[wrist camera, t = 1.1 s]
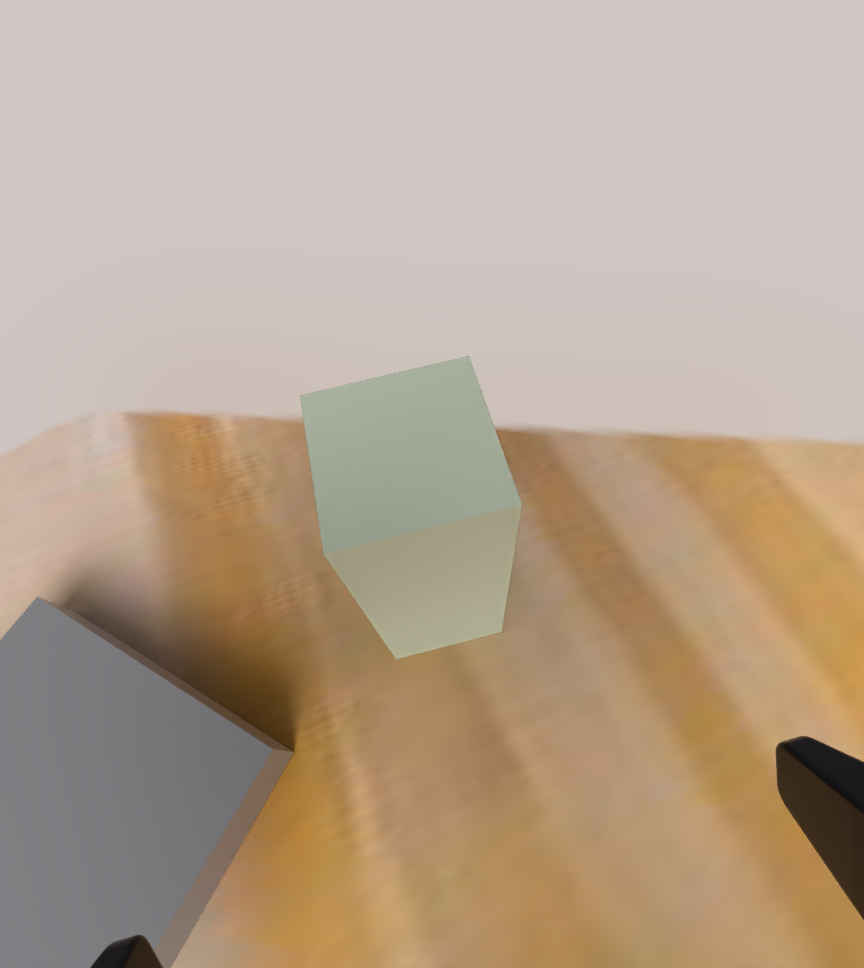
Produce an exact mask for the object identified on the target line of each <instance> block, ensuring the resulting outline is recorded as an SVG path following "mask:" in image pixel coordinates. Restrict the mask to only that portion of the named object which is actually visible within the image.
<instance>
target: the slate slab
mask: <svg viewBox="0 0 864 968" xmlns="http://www.w3.org/2000/svg"><path fill="white" fill-rule="evenodd" d="M293 754H294V752H293V751H292V750H290V749H288V748H287V747H285V746H284V745H282V744H281V743H279V742H278V741H276V740H274V739H273V738H271V737H270V736H268V735H267V734H265V733H264V732H262V731H260V730H259V729H257V728H256V727H254V726H253V725H251V724H250V723H248V722H246V721H245V720H243V719H242V718H240V717H239V716H237V715H236V714H234V713H232V712H231V711H229V710H228V709H226V708H225V707H223V706H222V705H220V704H218V703H217V702H215V701H214V700H212V699H211V698H209V697H208V696H206V695H204V694H203V693H201V692H200V691H198V690H197V689H195V688H193V687H192V686H190V685H189V684H187V683H186V682H184V681H183V680H181V679H179V678H178V677H176V676H175V675H173V674H172V673H170V672H169V671H167V670H165V669H164V668H162V667H161V666H159V665H158V664H156V663H155V662H153V661H151V660H150V659H148V658H147V657H145V656H144V655H142V654H141V653H139V652H137V651H136V650H134V649H133V648H131V647H130V646H128V645H127V644H125V643H123V642H122V641H120V640H119V639H117V638H116V637H114V636H113V635H111V634H109V633H108V632H106V631H105V630H103V629H102V628H100V627H99V626H97V625H95V624H94V623H92V622H91V621H89V620H88V619H86V618H84V617H83V616H81V615H80V614H78V613H76V612H74V611H71V610H69V609H67V608H64V607H62V606H59V605H57V604H55V603H52V602H50V601H47V600H45V599H42V598H40V597H37V598H36V599H35V600H34V602H33V603H32V604H31V605H30V606H29V607H28V609H27V610H26V611H25V612H24V613H23V614H22V616H21V617H20V618H19V619H18V620H17V621H16V622H15V624H14V625H13V626H12V627H11V628H10V629H9V631H8V632H7V633H6V634H5V635H4V636H3V638H2V639H1V640H0V968H90V967H91V966H92V964H93V963H94V962H95V961H96V959H97V958H98V957H99V955H100V954H101V953H102V952H103V950H104V949H105V948H106V947H107V946H109V945H110V944H111V943H113V942H115V941H118V940H122V939H125V938H128V937H132V936H135V935H142V936H144V937H146V938H147V940H148V941H149V943H150V945H151V947H152V948H153V950H154V952H155V954H156V956H157V957H158V959H159V961H160V963H161V964H162V966H163V968H170V967H171V966H172V964H173V962H174V961H175V959H176V957H177V955H178V954H179V952H180V950H181V948H182V947H183V945H184V943H185V941H186V940H187V938H188V936H189V934H190V933H191V931H192V929H193V927H194V926H195V924H196V922H197V920H198V919H199V917H200V915H201V914H202V912H203V910H204V908H205V907H206V905H207V903H208V901H209V900H210V898H211V896H212V894H213V893H214V891H215V889H216V887H217V886H218V884H219V882H220V880H221V879H222V877H223V875H224V874H225V872H226V870H227V868H228V867H229V865H230V863H231V861H232V860H233V858H234V856H235V854H236V853H237V851H238V849H239V847H240V846H241V844H242V842H243V840H244V839H245V837H246V835H247V834H248V832H249V830H250V828H251V827H252V825H253V823H254V821H255V820H256V818H257V816H258V814H259V813H260V811H261V809H262V807H263V806H264V804H265V802H266V800H267V799H268V797H269V795H270V794H271V792H272V790H273V788H274V787H275V785H276V783H277V781H278V780H279V778H280V776H281V774H282V773H283V771H284V769H285V767H286V766H287V764H288V762H289V760H290V759H291V757H292V755H293Z"/></svg>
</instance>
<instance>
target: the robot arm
mask: <svg viewBox="0 0 864 968" xmlns="http://www.w3.org/2000/svg"><path fill="white" fill-rule="evenodd" d="M776 768H777V786H778V790H779V794H780V796H781V798H782V800H783V802H784V804H785V806H786V807H787V809H788V810H789V812H790V813H791V814H792V816H793V817H794V819H795V820H796V822H797V823H798V825H799V826H800V828H801V829H802V831H803V832H804V834H805V835H806V836H807V838H808V839H809V841H810V842H811V844H812V845H813V847H814V848H815V850H816V851H817V853H818V854H819V856H820V857H821V859H822V860H823V861H824V863H825V864H826V866H827V867H828V869H829V870H830V872H831V873H832V875H833V876H834V878H835V879H836V881H837V882H838V883H839V885H840V886H841V888H842V889H843V891H844V892H845V894H846V895H847V897H848V898H849V900H850V901H851V903H852V904H853V905H854V907H855V908H856V910H857V911H858V912H859V914H860V915H861V917H862V918H863V919H864V762H863V761H860V760H858V759H856V758H854V757H852V756H850V755H847V754H845V753H843V752H841V751H839V750H837V749H835V748H832V747H830V746H828V745H826V744H824V743H822V742H819V741H817V740H815V739H813V738H810V737H806V736H800V737H796V738H793V739H789V740H786V741H783V742H780V743H779V744H778V745H777V747H776ZM90 968H163V966H162V964H161V963H160V961H159V959H158V957H157V956H156V954H155V952H154V950H153V948H152V947H151V945H150V943H149V941H148V940H147V938H146V937H144V936H142V935H135V936H132V937H128V938H125V939H122V940H118V941H115V942H113V943H111V944H110V945H109V946H107V947H106V948H105V949H104V950H103V952H102V953H101V954H100V955H99V957H98V958H97V959H96V961H95V962H94V963H93V964H92V966H91V967H90Z"/></svg>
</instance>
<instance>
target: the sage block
mask: <svg viewBox="0 0 864 968" xmlns="http://www.w3.org/2000/svg"><path fill="white" fill-rule="evenodd" d="M300 399H301V406H302V412H303V419H304V426H305V433H306V439H307V446H308V453H309V460H310V467H311V473H312V480H313V487H314V494H315V500H316V507H317V514H318V521H319V527H320V534H321V541H322V548H323V554H324V556H325V557H326V559H327V560H328V562H329V563H330V564H331V566H332V567H333V569H334V570H335V572H336V573H337V575H338V576H339V577H340V579H341V580H342V582H343V583H344V585H345V586H346V588H347V589H348V591H349V592H350V593H351V595H352V596H353V598H354V599H355V601H356V602H357V604H358V605H359V606H360V608H361V609H362V611H363V612H364V614H365V615H366V617H367V618H368V619H369V621H370V622H371V624H372V625H373V627H374V628H375V630H376V631H377V632H378V634H379V635H380V637H381V638H382V640H383V641H384V643H385V644H386V646H387V647H388V648H389V650H390V651H391V653H392V654H393V656H394V657H395V659H400V658H404V657H407V656H411V655H415V654H419V653H423V652H427V651H431V650H434V649H438V648H442V647H446V646H450V645H454V644H458V643H462V642H465V641H469V640H473V639H477V638H481V637H485V636H489V635H492V634H496V633H500V632H502V626H503V620H504V614H505V607H506V601H507V595H508V589H509V583H510V576H511V570H512V564H513V558H514V552H515V545H516V539H517V533H518V527H519V521H520V515H521V508H522V504H521V501H520V498H519V495H518V492H517V489H516V487H515V484H514V481H513V478H512V475H511V473H510V470H509V467H508V464H507V461H506V459H505V456H504V453H503V450H502V447H501V445H500V442H499V439H498V436H497V433H496V431H495V428H494V425H493V422H492V419H491V417H490V414H489V411H488V408H487V406H486V403H485V400H484V397H483V394H482V391H481V389H480V386H479V383H478V380H477V378H476V375H475V372H474V369H473V366H472V363H471V361H470V358H469V356H467V357H462V358H458V359H454V360H450V361H446V362H441V363H437V364H433V365H428V366H424V367H420V368H415V369H411V370H407V371H403V372H398V373H394V374H390V375H386V376H382V377H377V378H373V379H368V380H365V381H360V382H356V383H351V384H347V385H343V386H339V387H335V388H330V389H326V390H322V391H317V392H313V393H309V394H304V395H300Z"/></svg>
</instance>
